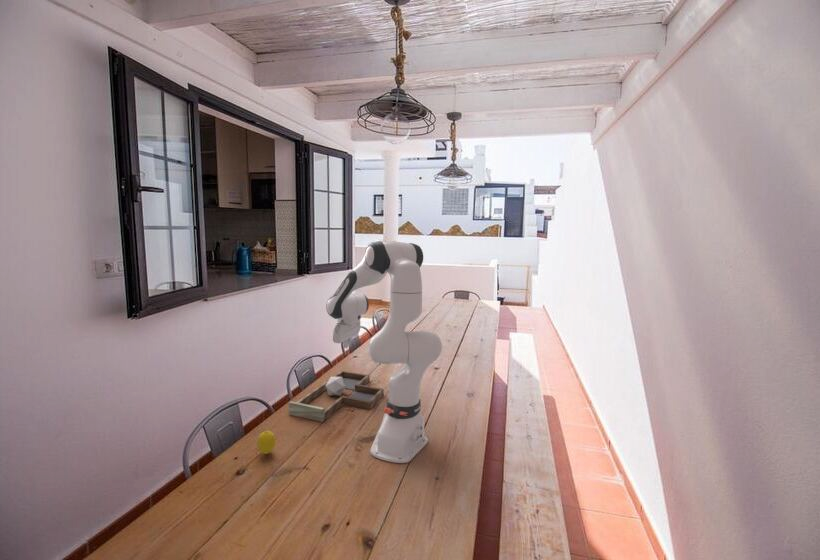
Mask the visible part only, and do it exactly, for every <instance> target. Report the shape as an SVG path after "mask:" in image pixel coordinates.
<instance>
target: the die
mask: <svg viewBox="0 0 820 560" xmlns="http://www.w3.org/2000/svg"><path fill="white" fill-rule="evenodd" d="M328 380H329V381H328V382H327V384H326V391H327V394H328V396H331V397H332V396H333V397H335V396H339V397H341V396H342V395H343V392H344V390H345V387H346V386H345V383H344V381H343V378H342V377H333V376H330V377H329V379H328Z"/></svg>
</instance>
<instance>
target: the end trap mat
mask: <svg viewBox="0 0 820 560" xmlns="http://www.w3.org/2000/svg"><path fill="white" fill-rule="evenodd" d="M343 381H344V383H345V386H346V387H345V389H347V390H351V391H355V385H356V384H357V383H358V382H359V381H360V380H354V379H349V378H343ZM345 389H344V390H345Z"/></svg>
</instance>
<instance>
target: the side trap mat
mask: <svg viewBox="0 0 820 560" xmlns="http://www.w3.org/2000/svg"><path fill="white" fill-rule="evenodd" d="M373 396H374V395H373V394H367V393H362V392H356V391H355V390H354V392H353V393H352V394H350V395H349V396H348V397H351V398H357V399H362V400H367V401H369V400H370V399H371V398H372V397H373Z"/></svg>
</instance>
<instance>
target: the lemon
mask: <svg viewBox="0 0 820 560" xmlns="http://www.w3.org/2000/svg"><path fill="white" fill-rule="evenodd" d="M257 438H258V439H257V441H256V443H257V449H258V451H259V452H260V453H262V454H264V455H268V454H270V453H271V452H272V451H273V450H274V449H275V447H276V443H277V442H276V436H275V434H274V432H272V431H270V430H264V431H263V432H262V433H260V434H259V435H258V437H257Z"/></svg>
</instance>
